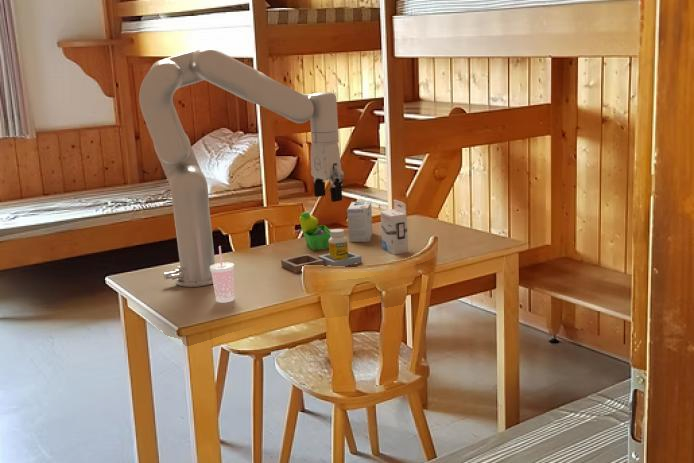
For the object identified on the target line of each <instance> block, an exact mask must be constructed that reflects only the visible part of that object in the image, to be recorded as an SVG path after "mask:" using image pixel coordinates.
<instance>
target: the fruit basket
mask: <svg viewBox="0 0 694 463" xmlns="http://www.w3.org/2000/svg"><path fill="white" fill-rule="evenodd" d="M298 219H299V222H300V227H301V228H300V229H301V231H302V233H303V236H304V239H305V242H306V245H308V247H309V248H310V249H311V251H315V250H316V251H317V250H325V249H329V238H331V235H330V231H331V229H329V228H328V227H327V226H326V225H322V224H321V225H318V223H319V220H318V218H317V217H315V216H314V215H311V214H310V213H309V212H307V211H304V212H301V213H300V216H299V218H298Z"/></svg>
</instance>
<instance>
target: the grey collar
mask: <svg viewBox="0 0 694 463" xmlns="http://www.w3.org/2000/svg"><path fill="white" fill-rule="evenodd" d="M317 258H320V259H322V260H324V266H325V265H331V266H346V267H348V266H347V265H351V264H355V263H359V264H362V263H363V262H362V255H359V254H357V253H353V252H351V251H349V250H348V258H346V259H341V260H337V261H334V260H332V259H330V253H326V254H322V255H318V256H317ZM355 265H356V264H355ZM351 266H352V265H351Z"/></svg>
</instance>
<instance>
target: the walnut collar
mask: <svg viewBox="0 0 694 463" xmlns="http://www.w3.org/2000/svg"><path fill="white" fill-rule="evenodd" d="M280 263H281V264H280V265H281V267H282V268H284V269H286V270H288V271H289V272H292V273H294V274H300V273H302V272H301V269H302V266H304V265H324V260H322V259H320V258H318V256H314V255H312V254H310V253H308V254H307V253H306V254H301V255H298V256H293V257H288V258H283V259H280ZM324 266H325V265H324Z"/></svg>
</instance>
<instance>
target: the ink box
mask: <svg viewBox="0 0 694 463" xmlns="http://www.w3.org/2000/svg"><path fill="white" fill-rule="evenodd" d="M393 207H394V209H386V210H385V209H384V210H380V224H381V228H380V229H381V242H382V243H381V246H382V249H383V250H384V251H386V252H389V253H390V254H392V255H400V254H407V253H409V238H408V237H409V236H408V220H407V218H408V217H407V205H406V203H404V202H403V201H400V200H397V199H393Z"/></svg>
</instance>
